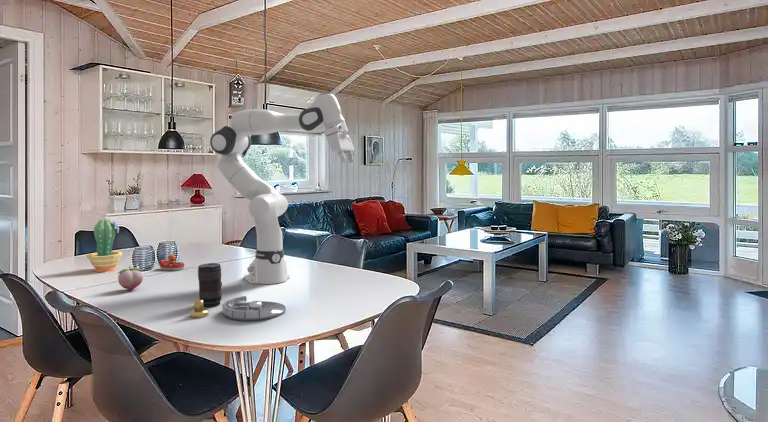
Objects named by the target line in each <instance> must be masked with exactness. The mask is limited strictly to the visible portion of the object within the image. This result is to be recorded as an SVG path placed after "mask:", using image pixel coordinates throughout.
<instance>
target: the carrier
mask: <svg viewBox="0 0 768 422" xmlns="http://www.w3.org/2000/svg"><path fill="white" fill-rule="evenodd" d="M221 307H222V313H223V315H224V317H225V319H228V320H232V321H238V322H259V321H260V322H261V321H266V320H270V319H275V318H278V317H281V316H282V315H284V314H285V313H286V311H287V308H286V305H284V304H283V303H280V302H277V301H276V302H275V301H263V300H253V301H247V295H242V296H237V297H233V298H230V299H228V300H226V301H224V302H223V304H222V306H221Z"/></svg>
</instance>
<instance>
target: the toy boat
mask: <svg viewBox="0 0 768 422" xmlns="http://www.w3.org/2000/svg"><path fill="white" fill-rule="evenodd" d="M175 259H176V256H175V255H174V254H168V260H165V259H161V260H160V261H159V268H160V269H161V270H162V271H172V272H173V271H175V272H177V271H180V270H183V269H185V262H182V261H181V262H180V261H178V262H177V261H175Z"/></svg>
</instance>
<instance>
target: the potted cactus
mask: <svg viewBox="0 0 768 422" xmlns="http://www.w3.org/2000/svg"><path fill="white" fill-rule="evenodd" d="M119 232H120V227H119V226H118V223H116V221H113V220H111V219H108V218H105V219H103V218H101V219H99V220H98V221H97V222H96V224H94V227H93V235H94V238H95V239H94V240H95V242H96V252H93V253H88V254H87V255H86V258H87V259H88V260H89V262H90V264H91V265H92V267H94V272H98V273H106V272H112V271H116V268H117V265H118V264H119V262H120V259H121V257H122V256H123V252H122V251H115V250H114V251H113V245H114V244H113V243H114V241H115V237H116V234H119Z"/></svg>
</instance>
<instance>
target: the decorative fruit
mask: <svg viewBox="0 0 768 422" xmlns="http://www.w3.org/2000/svg"><path fill="white" fill-rule="evenodd" d="M128 267H129V268H125V269H121V270H120V271H118V272H117V275H118V276H117V277H118V278H117V279H118V284H119V286H120V287H122V288H124V289H125V290H129V291H133V290H134V289H137V287H139V286H140V285H141V284H142V282H143V279H144V275H143V273H142V271H143V269H141V268H139V267H132V268H131V266H128Z"/></svg>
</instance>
